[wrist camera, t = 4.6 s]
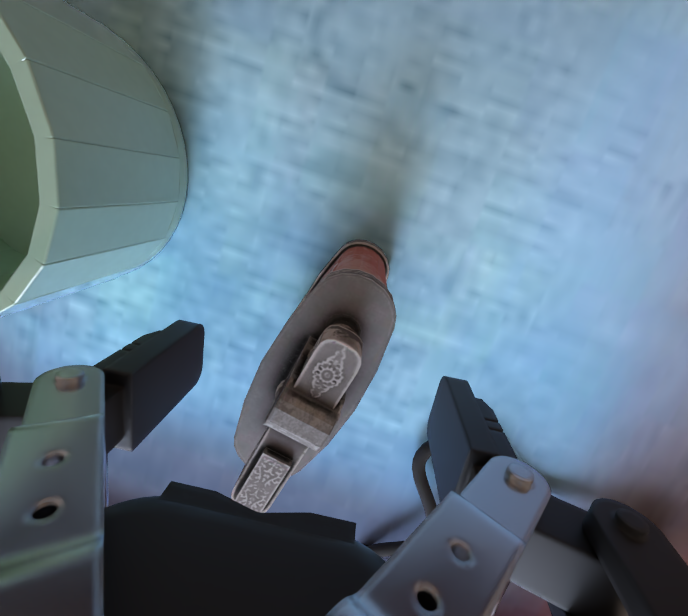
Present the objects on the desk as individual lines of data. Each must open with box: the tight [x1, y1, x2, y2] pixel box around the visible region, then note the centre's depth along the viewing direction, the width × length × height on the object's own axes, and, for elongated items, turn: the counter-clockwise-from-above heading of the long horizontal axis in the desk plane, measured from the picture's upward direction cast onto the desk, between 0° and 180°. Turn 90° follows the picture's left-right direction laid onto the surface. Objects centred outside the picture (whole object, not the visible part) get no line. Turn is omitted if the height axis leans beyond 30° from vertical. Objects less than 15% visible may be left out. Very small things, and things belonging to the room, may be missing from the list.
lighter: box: [231, 240, 396, 513], centre depth 14 cm, size 8×3×10 cm, turn 151°
